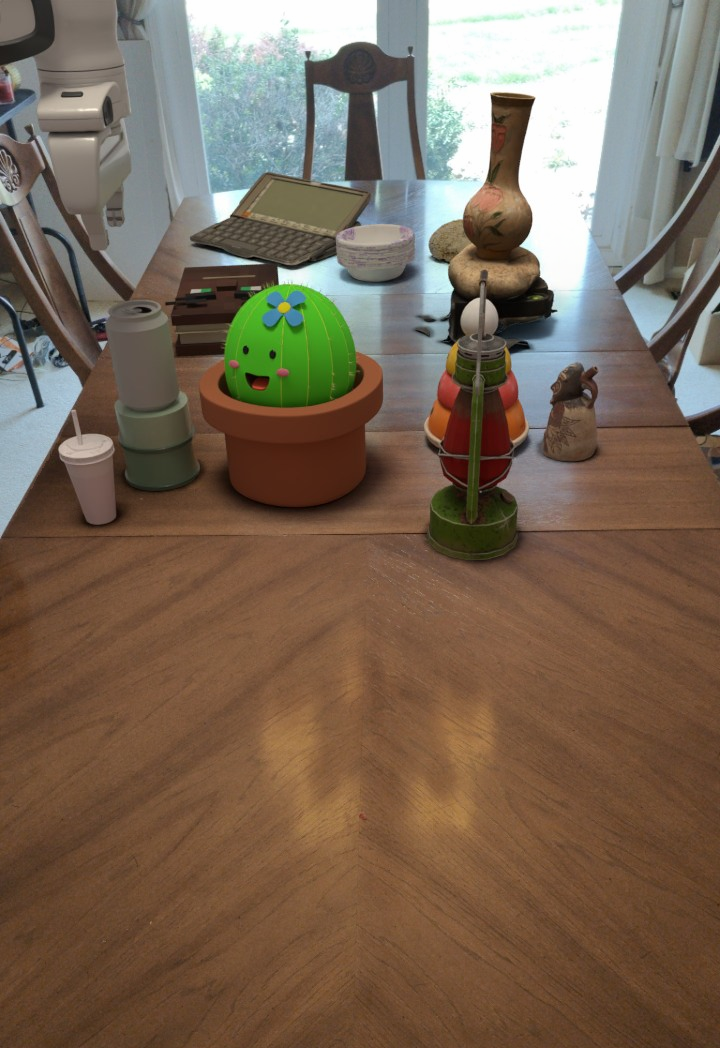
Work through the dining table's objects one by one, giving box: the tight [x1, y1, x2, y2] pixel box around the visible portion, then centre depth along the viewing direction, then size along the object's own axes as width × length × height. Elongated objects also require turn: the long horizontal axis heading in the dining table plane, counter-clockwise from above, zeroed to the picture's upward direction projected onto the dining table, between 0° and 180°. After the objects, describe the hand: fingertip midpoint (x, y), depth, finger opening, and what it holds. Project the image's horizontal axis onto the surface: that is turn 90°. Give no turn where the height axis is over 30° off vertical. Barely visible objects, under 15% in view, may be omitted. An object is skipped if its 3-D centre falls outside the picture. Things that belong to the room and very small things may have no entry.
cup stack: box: [113, 390, 201, 492], centre depth 127 cm, size 10×10×10 cm
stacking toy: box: [423, 298, 530, 449], centre depth 129 cm, size 14×14×20 cm
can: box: [104, 299, 180, 412], centre depth 120 cm, size 8×8×12 cm
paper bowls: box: [336, 223, 416, 283], centre depth 190 cm, size 15×15×8 cm
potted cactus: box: [198, 279, 384, 508], centre depth 120 cm, size 22×22×25 cm
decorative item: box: [428, 218, 472, 263], centre depth 198 cm, size 12×9×10 cm
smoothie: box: [57, 409, 117, 526], centre depth 117 cm, size 6×6×14 cm
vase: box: [415, 91, 558, 350], centre depth 158 cm, size 24×22×35 cm
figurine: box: [541, 361, 599, 462], centre depth 128 cm, size 7×7×12 cm
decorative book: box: [164, 262, 280, 357], centre depth 170 cm, size 19×8×30 cm
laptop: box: [189, 171, 372, 266], centre depth 209 cm, size 26×32×10 cm
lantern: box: [426, 270, 519, 561], centre depth 106 cm, size 14×11×30 cm
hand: (109, 236), depth 110 cm, fingers open, 8 cm apart
